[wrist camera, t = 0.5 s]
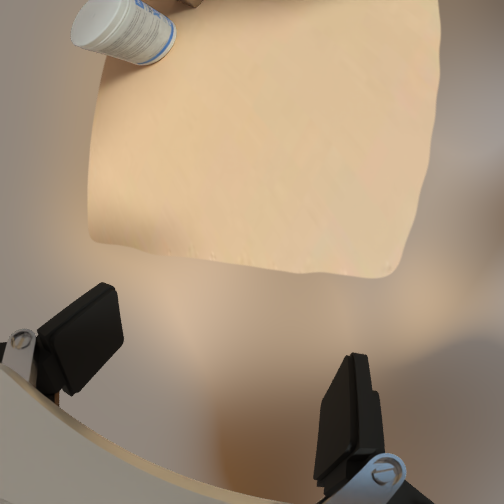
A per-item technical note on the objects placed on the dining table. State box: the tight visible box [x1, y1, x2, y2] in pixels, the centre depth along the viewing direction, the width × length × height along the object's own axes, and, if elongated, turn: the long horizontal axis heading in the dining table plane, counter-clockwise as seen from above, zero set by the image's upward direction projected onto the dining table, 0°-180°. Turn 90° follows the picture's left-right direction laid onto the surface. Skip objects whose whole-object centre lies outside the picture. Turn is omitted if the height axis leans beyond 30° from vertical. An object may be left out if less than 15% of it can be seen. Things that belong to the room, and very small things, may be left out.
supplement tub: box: [71, 0, 176, 65], centre depth 25 cm, size 10×10×15 cm
